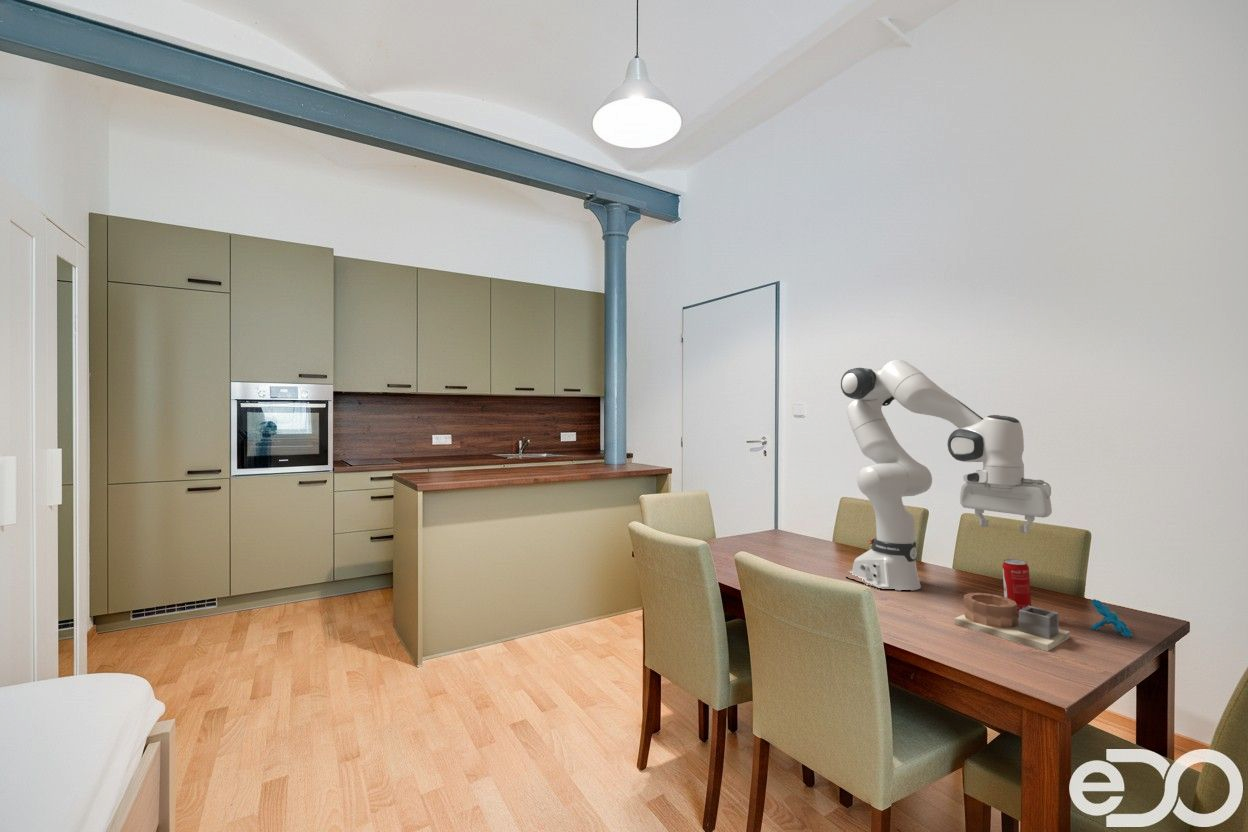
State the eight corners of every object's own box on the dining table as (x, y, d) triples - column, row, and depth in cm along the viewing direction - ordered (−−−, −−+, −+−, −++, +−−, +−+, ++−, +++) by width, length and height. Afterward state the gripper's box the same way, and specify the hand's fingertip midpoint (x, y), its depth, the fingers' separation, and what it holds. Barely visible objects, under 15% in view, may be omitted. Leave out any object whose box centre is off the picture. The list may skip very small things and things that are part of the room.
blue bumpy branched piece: (1131, 637, 127) (1092, 599, 133) (1107, 650, 130) (1070, 612, 136) (1139, 631, 134) (1101, 595, 140) (1116, 644, 137) (1080, 608, 143)
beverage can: (1035, 617, 144) (1034, 561, 144) (1025, 623, 140) (1024, 565, 140) (1009, 611, 149) (1008, 556, 149) (999, 616, 145) (998, 560, 145)
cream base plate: (954, 624, 140) (954, 598, 140) (978, 613, 147) (978, 589, 148) (1047, 651, 123) (1047, 622, 123) (1069, 637, 131) (1069, 610, 131)
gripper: (1056, 479, 135) (1056, 535, 135) (968, 473, 153) (968, 522, 152) (1045, 481, 132) (1045, 538, 132) (956, 474, 149) (957, 524, 149)
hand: (1003, 529), depth 142 cm, fingers open, 8 cm apart
